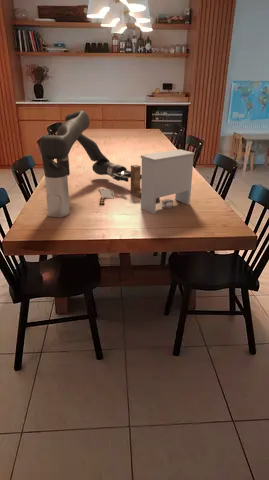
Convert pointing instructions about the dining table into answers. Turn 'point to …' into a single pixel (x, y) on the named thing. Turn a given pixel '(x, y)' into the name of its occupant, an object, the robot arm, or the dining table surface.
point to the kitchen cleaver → (105, 195)
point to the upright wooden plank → (136, 181)
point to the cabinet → (166, 177)
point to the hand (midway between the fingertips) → (134, 178)
